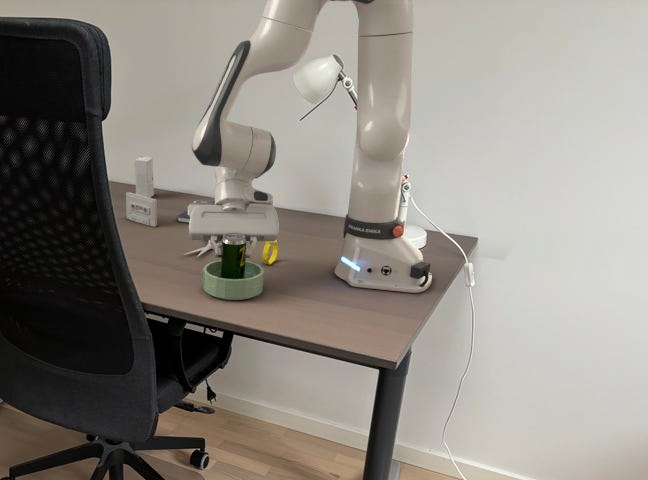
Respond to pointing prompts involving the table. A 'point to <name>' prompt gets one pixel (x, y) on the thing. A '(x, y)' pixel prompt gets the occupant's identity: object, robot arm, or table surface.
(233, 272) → the beer can
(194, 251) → the scissors
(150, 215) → the cassette
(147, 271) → the table surface
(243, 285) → the bowl
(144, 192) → the cosmetic box
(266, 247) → the watch
